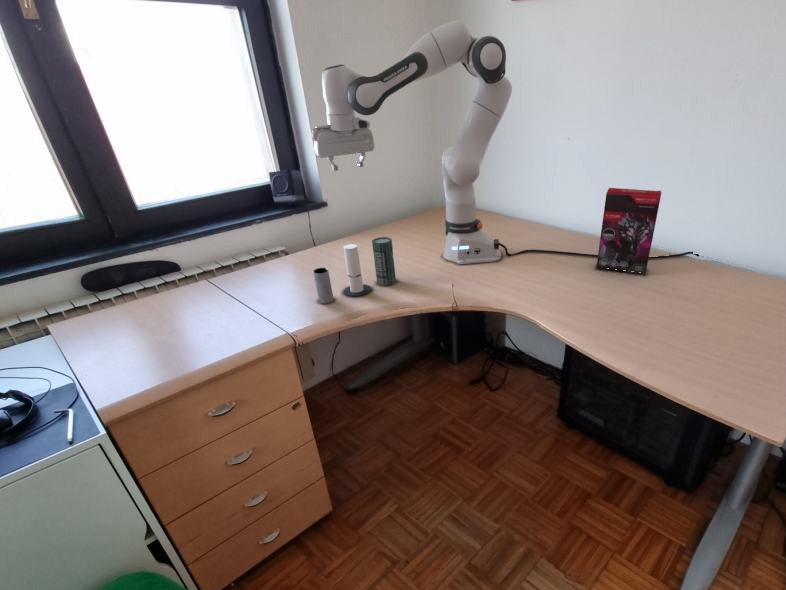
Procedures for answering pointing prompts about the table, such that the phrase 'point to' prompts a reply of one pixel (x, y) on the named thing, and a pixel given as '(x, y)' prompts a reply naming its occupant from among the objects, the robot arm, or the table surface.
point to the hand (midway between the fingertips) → (348, 168)
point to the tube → (353, 268)
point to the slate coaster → (366, 290)
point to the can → (384, 261)
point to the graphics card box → (627, 229)
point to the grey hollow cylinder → (323, 285)
